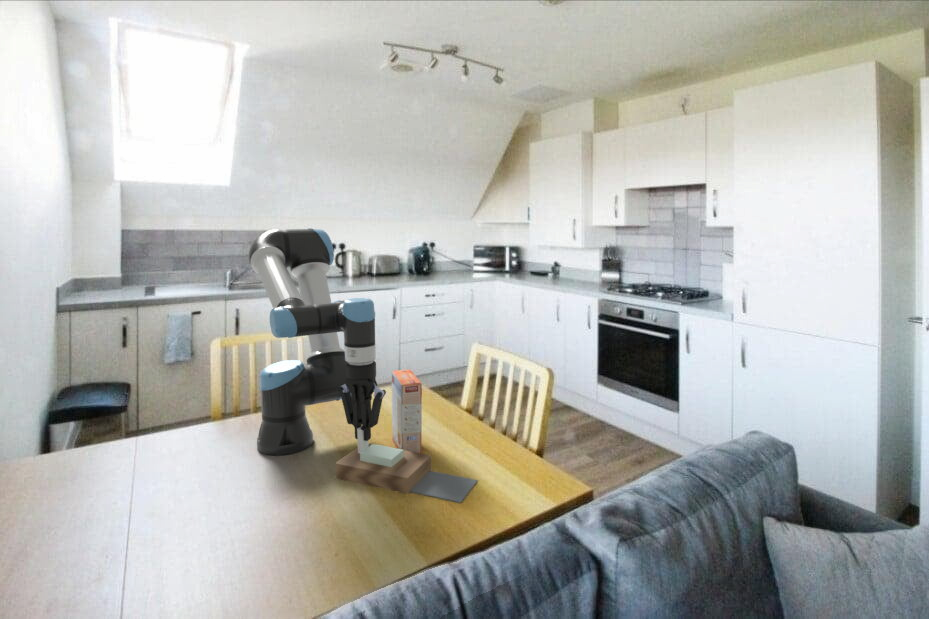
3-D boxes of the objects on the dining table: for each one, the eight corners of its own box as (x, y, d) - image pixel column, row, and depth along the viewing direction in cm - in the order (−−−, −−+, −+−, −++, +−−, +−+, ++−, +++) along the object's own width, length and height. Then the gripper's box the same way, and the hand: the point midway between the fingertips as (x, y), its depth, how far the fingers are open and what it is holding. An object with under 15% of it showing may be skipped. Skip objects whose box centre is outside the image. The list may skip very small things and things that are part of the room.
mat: (409, 492, 126) (409, 490, 126) (429, 471, 136) (429, 470, 136) (460, 503, 122) (460, 501, 121) (477, 481, 132) (477, 479, 132)
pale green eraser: (360, 460, 133) (359, 453, 133) (373, 451, 139) (372, 443, 138) (391, 467, 130) (391, 459, 130) (403, 457, 135) (403, 449, 135)
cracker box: (423, 456, 145) (422, 382, 141) (401, 459, 143) (400, 384, 139) (412, 436, 158) (411, 368, 154) (391, 439, 156) (390, 369, 152)
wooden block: (335, 478, 133) (335, 463, 132) (364, 456, 144) (363, 442, 144) (407, 494, 125) (407, 478, 125) (431, 469, 137) (431, 455, 137)
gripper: (329, 362, 131) (333, 453, 135) (375, 367, 126) (377, 461, 130) (347, 355, 138) (350, 441, 142) (391, 360, 133) (393, 449, 137)
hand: (363, 451), depth 136 cm, fingers closed
